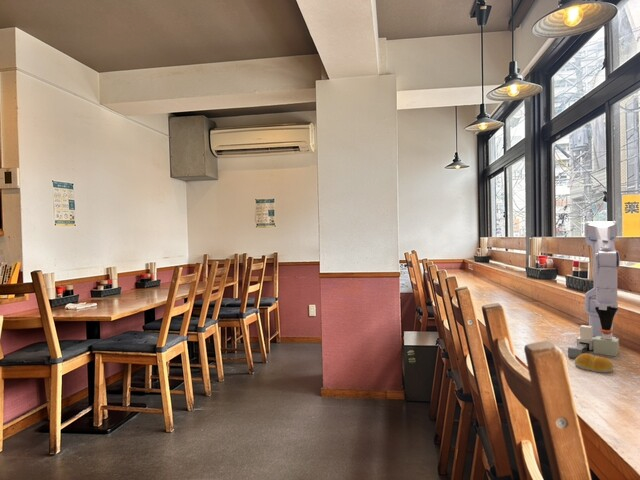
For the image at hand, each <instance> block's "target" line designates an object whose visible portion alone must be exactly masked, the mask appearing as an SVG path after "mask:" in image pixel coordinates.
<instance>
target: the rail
mask: <svg viewBox="0 0 640 480" xmlns="http://www.w3.org/2000/svg"><path fill="white" fill-rule="evenodd" d="M592 337H594V338H595V336H592ZM587 351H589V343H584V342H581V343H580V344H579V345H578V346H577V345H576V347H570V346H568V348H567V358H571V359H574V360H575V359H576V358H577V357H578V356H579V355H581V354H584V353H587Z"/></svg>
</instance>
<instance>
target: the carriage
mask: <svg viewBox="0 0 640 480" xmlns="http://www.w3.org/2000/svg"><path fill="white" fill-rule="evenodd" d="M581 342H584V343H589V349H588V351H592V350H593V351H594V337H592V326H589V325H584V324H581V325H580V327H579V336H578V337H577V338H576V347H577V346H578V345H579V344H580V343H581Z"/></svg>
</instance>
